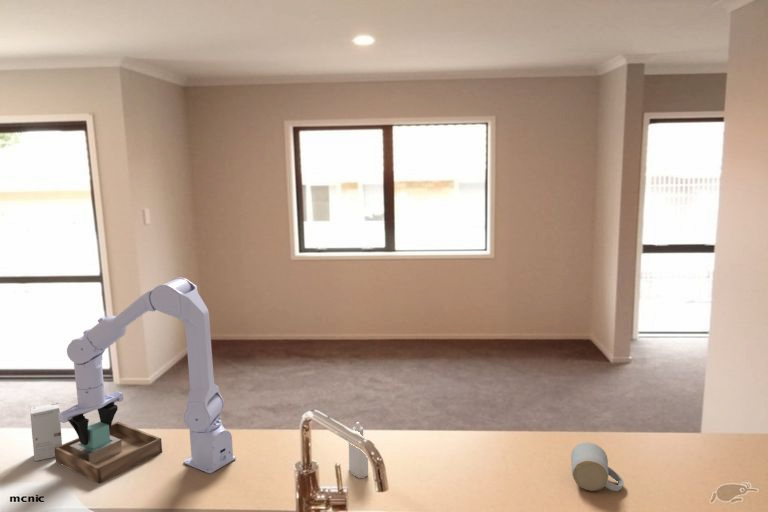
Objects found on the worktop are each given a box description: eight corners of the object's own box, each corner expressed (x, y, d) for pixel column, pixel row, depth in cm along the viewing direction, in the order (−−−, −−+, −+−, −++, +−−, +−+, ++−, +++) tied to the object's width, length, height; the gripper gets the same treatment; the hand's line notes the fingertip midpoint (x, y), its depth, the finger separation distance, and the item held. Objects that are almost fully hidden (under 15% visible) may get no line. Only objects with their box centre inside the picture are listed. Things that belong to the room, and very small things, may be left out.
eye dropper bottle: (368, 465, 125) (367, 416, 123) (368, 479, 119) (367, 428, 117) (349, 466, 125) (348, 417, 123) (348, 479, 119) (347, 428, 117)
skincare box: (34, 462, 128) (28, 414, 126) (34, 454, 132) (28, 407, 130) (64, 454, 131) (59, 407, 129) (63, 447, 135) (58, 401, 133)
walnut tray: (162, 451, 132) (161, 438, 132) (99, 483, 119) (97, 468, 118) (118, 434, 141) (117, 421, 141) (55, 461, 128) (54, 448, 127)
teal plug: (110, 452, 130) (108, 425, 129) (94, 459, 126) (92, 431, 126) (101, 449, 132) (99, 421, 131) (85, 455, 128) (83, 427, 128)
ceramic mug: (571, 490, 114) (573, 456, 113) (570, 470, 122) (572, 438, 120) (625, 499, 111) (628, 465, 110) (620, 478, 119) (623, 446, 117)
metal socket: (122, 451, 130) (121, 439, 130) (89, 466, 124) (88, 454, 123) (103, 443, 135) (102, 431, 134) (70, 457, 128) (69, 445, 127)
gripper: (109, 372, 135) (114, 423, 137) (49, 392, 123) (55, 447, 125) (126, 377, 131) (130, 429, 133) (65, 398, 119) (71, 455, 121)
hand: (95, 439), depth 129 cm, fingers open, 5 cm apart
